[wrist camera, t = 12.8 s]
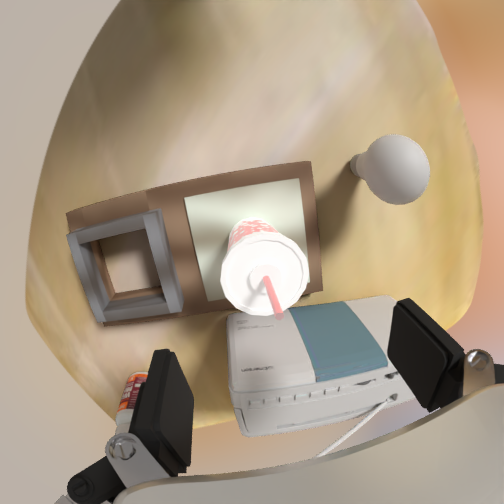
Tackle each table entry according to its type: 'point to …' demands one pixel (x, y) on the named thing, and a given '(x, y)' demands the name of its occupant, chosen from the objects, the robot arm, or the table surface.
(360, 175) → the lightbulb
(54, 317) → the table surface
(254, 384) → the stereo radio cassette player
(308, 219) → the socket board
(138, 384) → the pill bottle
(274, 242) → the beverage cup
